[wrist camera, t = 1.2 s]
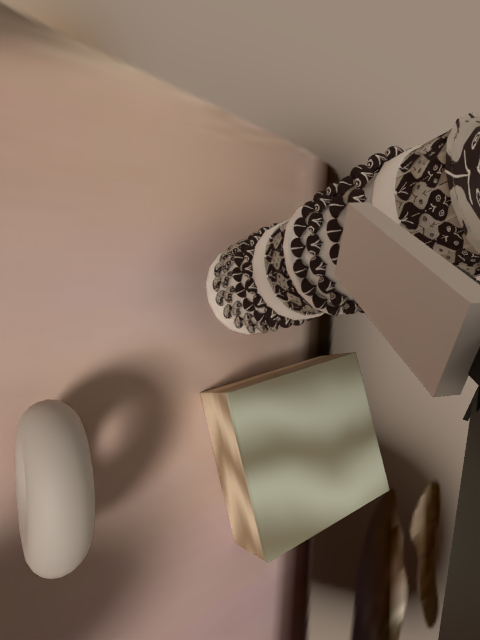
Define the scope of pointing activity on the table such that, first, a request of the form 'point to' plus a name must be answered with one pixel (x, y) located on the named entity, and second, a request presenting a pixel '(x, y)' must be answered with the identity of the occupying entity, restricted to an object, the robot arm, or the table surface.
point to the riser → (294, 451)
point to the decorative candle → (327, 227)
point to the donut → (54, 488)
